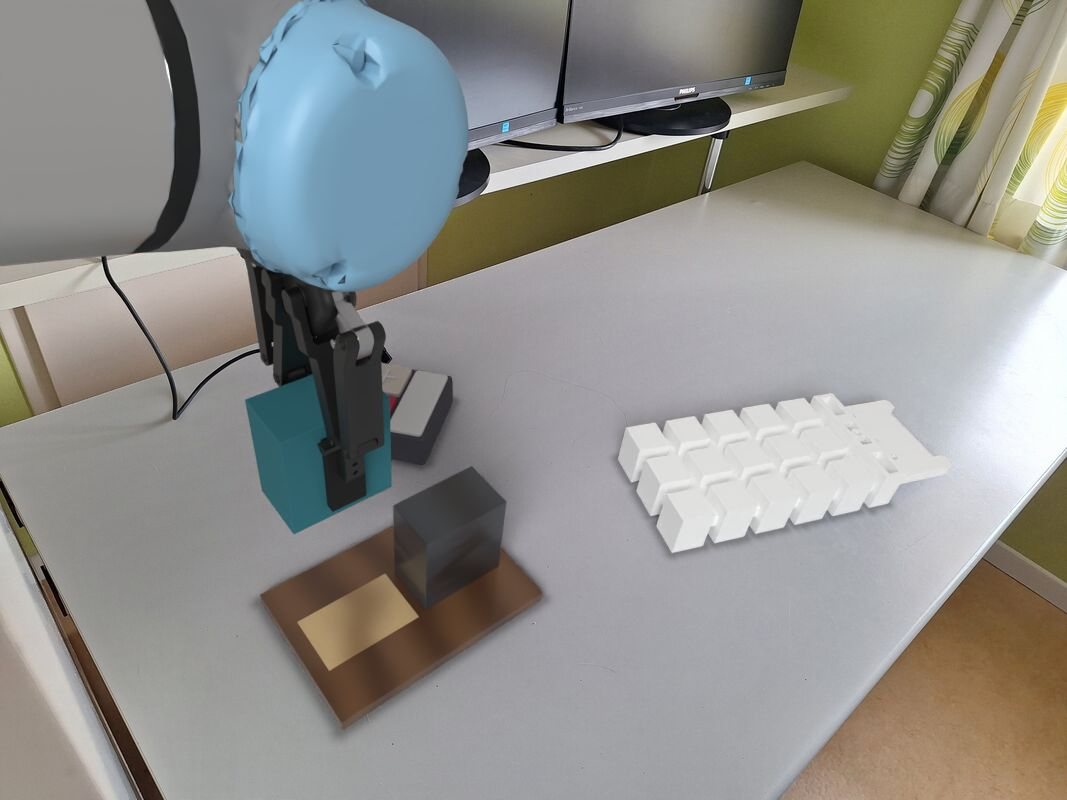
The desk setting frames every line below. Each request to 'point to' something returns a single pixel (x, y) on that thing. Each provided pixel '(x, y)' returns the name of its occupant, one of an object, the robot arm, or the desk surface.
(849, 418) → the white ice cube tray
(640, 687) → the desk surface
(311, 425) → the teal block
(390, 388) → the calculator
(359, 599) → the wooden stand
